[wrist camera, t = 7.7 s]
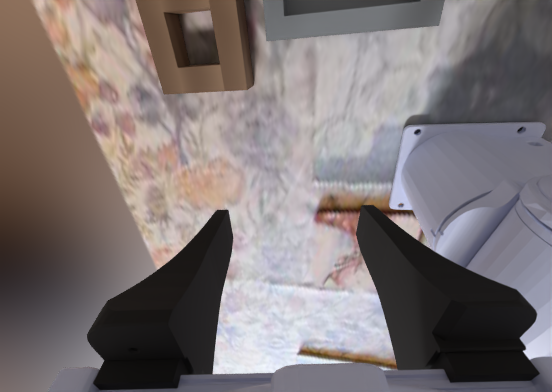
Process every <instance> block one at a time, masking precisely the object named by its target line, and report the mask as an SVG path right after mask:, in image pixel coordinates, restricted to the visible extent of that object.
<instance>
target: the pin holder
mask: <svg viewBox="0 0 552 392" xmlns="http://www.w3.org/2000/svg"><path fill="white" fill-rule="evenodd" d="M136 3H137V6H138V10H139V13H140V16H141V20H142V23H143V26H144V30H145V33H146V36H147V40H148V43H149V46H150V50H151V53H152V56H153V60H154V63H155V66H156V70H157V73H158V76H159V80H160V83H161V86H162V90H163V93H164V94H180V93H199V92H217V91H236V90H248V89H249V88H251V87H252V86H254V82H253V73H252V65H251V56H250V48H249V39H248V30H247V22H246V13H245V5H244V0H136ZM207 10H211V16H212V21H213V27H214V33H215V38H216V44H217V50H218V55H219V61H220V63H210V64H197V65H190V63H189V59H188V55H187V50H186V46H185V42H184V38H183V33H182V29H181V25H180V21H179V16H178V14H182V13H191V12H199V11H207Z"/></svg>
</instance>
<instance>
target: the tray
mask: <svg viewBox="0 0 552 392" xmlns="http://www.w3.org/2000/svg"><path fill="white" fill-rule="evenodd" d="M444 1H445V0H263V4H264V16H265V28H266V40H267V41H274V40H285V39H296V38H307V37H318V36H329V35H340V34H351V33H362V32H373V31H384V30H396V29H407V28H418V27H429V26H439V23H440V19H441V14H442V10H443V5H444Z"/></svg>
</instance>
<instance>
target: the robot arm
mask: <svg viewBox="0 0 552 392" xmlns="http://www.w3.org/2000/svg"><path fill="white" fill-rule="evenodd" d="M521 127H523V128H522V130H521V131H519V132H517V130H518V129H519V128H521ZM417 129H420V132H419V133H417V134H414V132H415V130H417ZM545 129H546V125H545V124H543V123H541V122H508V123H466V124H423V125H408V126H406V127H405V128H404V130H403V134H402V139H401V144H400V149H399V154H398V159H397V164H396V169H395V174H394V180H393V185H392V190H391V195H390V200H389V206H390V208H392V209H402V210H413V211H414V213H415V216H416V218H417V220H418V222H419V224H420V226H421V228H422V230H423V232H424V235H425V237H426V239H427V241H428V243H429V245H430V247H431V249H430V248H428V247H427V246H425V245H424V244H422V243H421V242H419V241H418V240H416V239H415V238H414V237H412V236H411V235H409V234H408V233H407V232H405V231H404V230H403V229H401V228H400V227H399V226H398V225H396V224H395V223H394V222H393V221H392V220H390V219H389V218H388V217H387V216H386V215H384V214H383V213H382V212H381V211H380V210H379V209H377V208H376V207H375V206H374V205H362V206H361V211H360V216H359V221H358V226H357V231H356V236H357V240H358V244H359V247H360V251H361V253H362V256H363V258H364V261H365V263H366V265H367V268H368V270H369V272H370V275H371V277H372V280H373V282H374V284H375V287H376V290H377V292H378V295H379V299H380V302H381V305H382V309H383V312H384V316H385V319H386V323H387V327H388V330H389V334H390V338H391V342H392V346H393V350H394V355H395V359H396V364H397V368H398V370H386V371H383V370H382V369H380V368H379V367H377V366H375V365H373V364H365V363H338V364H298V365H290V366H285V367H283V368H281V369H278V370H276V372H275V373H253V374H212V373H213V362H214V352H215V342H216V333H217V325H218V317H219V309H220V302H221V296H222V291H223V287H224V283H225V279H226V274H227V270H228V266H229V262H230V258H231V253H232V245H233V233H232V228H231V222H230V216H229V211H228V210H217V211H216V212H215V213H214V214H213V215H212V217H211V218H210V219H209V220H208V222H207V223H206V224H205V225H204V227H203V228H202V229H201V230H200V231H199V232H198V234H197V235H196V236H195V237H194V238H193V239H192V240H191V241H190V242H189V243H188V244H187V245H186V246H185V247H184V248H183V249H182V250H181V251H180V252H179V253H178V254H177V255H176V256H175V257H174V258H172V259H171V260H170V261H169V262H168V263H166V264H165V265H164V266H162V267H161V268H160V269H158V270H157V271H156V272H155V273H153V274H152V275H150V276H149V277H147V278H146V279H144V280H143V281H141V282H140V283H138V284H136V285H135V286H133V287H131V288H130V289H128V290H126V291H124V292H123V293H121V294H119V295H117V296H116V297H114V298H112V299H110V300H108V301H107V303H106V304H105V306H104V307H103V308H102V310H101V312H100V313H99V315H98V317H97V318H96V320H95V322H94V324H93V325H92V327H91V329H90V330H89V332H88V334H87V339H88V342H89V343H90V345H91V346H92V347H93V348H94V349H95V351H96V352H97V353H98V354H99V355H100V356H101V357H102V358H103V359H104V362H103V364H102V366H101V368H100V370H99V369H97V368H92V367H76V368H63V369H61V370H60V372H59V373H58V375H57V376H56V378H55V380H54V381H53V383H52V385H51V386H50V388H49V389H48V391H47V392H552V143H551V142H549V141H547V140H545V139H543V138H541V137H542V135H543V133H544V131H545ZM400 203H403V204H402V205H398V204H400Z"/></svg>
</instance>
